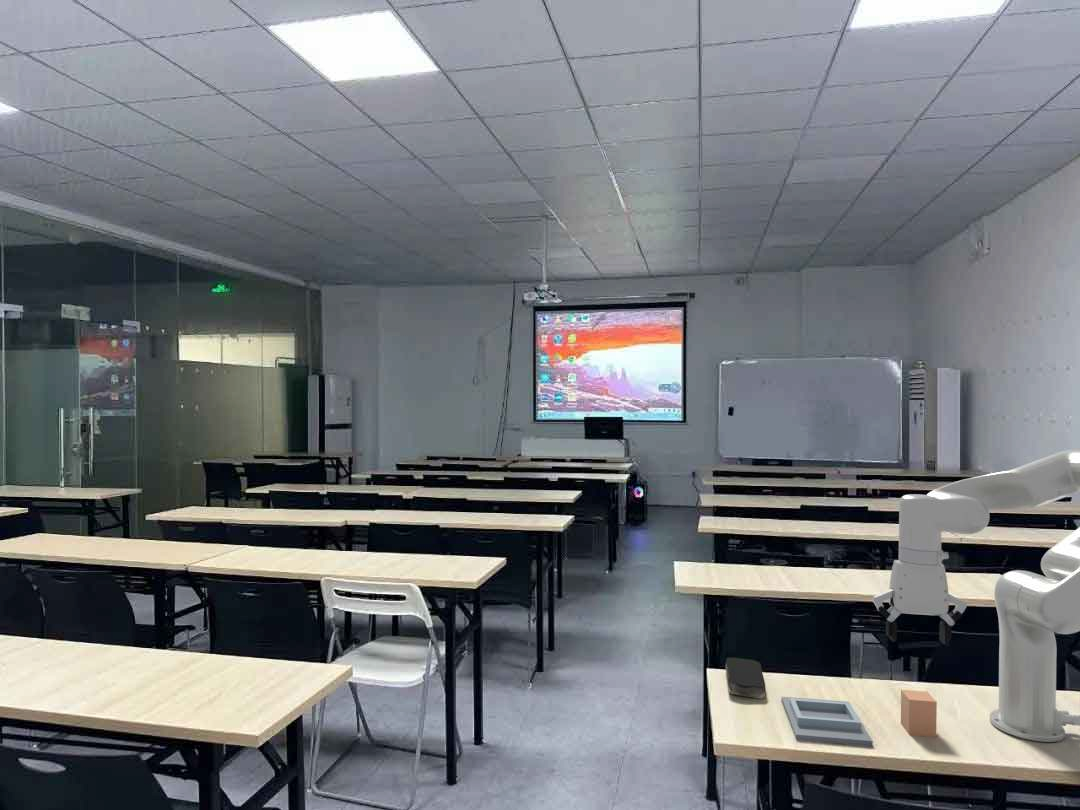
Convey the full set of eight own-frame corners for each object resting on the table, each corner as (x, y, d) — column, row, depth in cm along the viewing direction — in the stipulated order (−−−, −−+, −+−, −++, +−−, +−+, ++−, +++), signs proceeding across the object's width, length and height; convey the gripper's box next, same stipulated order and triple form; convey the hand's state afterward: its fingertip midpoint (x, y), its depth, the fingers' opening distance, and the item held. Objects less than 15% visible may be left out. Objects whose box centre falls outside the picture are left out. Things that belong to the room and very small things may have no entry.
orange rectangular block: (927, 725, 144) (927, 691, 144) (936, 737, 139) (936, 701, 139) (900, 723, 145) (901, 689, 145) (908, 734, 140) (909, 699, 140)
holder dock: (848, 706, 153) (848, 694, 153) (872, 746, 135) (872, 733, 135) (781, 701, 155) (781, 689, 155) (796, 739, 138) (796, 726, 138)
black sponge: (724, 671, 173) (724, 656, 173) (760, 674, 171) (760, 659, 171) (727, 698, 157) (728, 682, 157) (767, 702, 155) (767, 686, 155)
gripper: (958, 554, 144) (957, 638, 144) (868, 550, 147) (867, 632, 147) (974, 563, 137) (973, 651, 137) (879, 558, 140) (877, 644, 140)
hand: (918, 641), depth 142 cm, fingers open, 9 cm apart
